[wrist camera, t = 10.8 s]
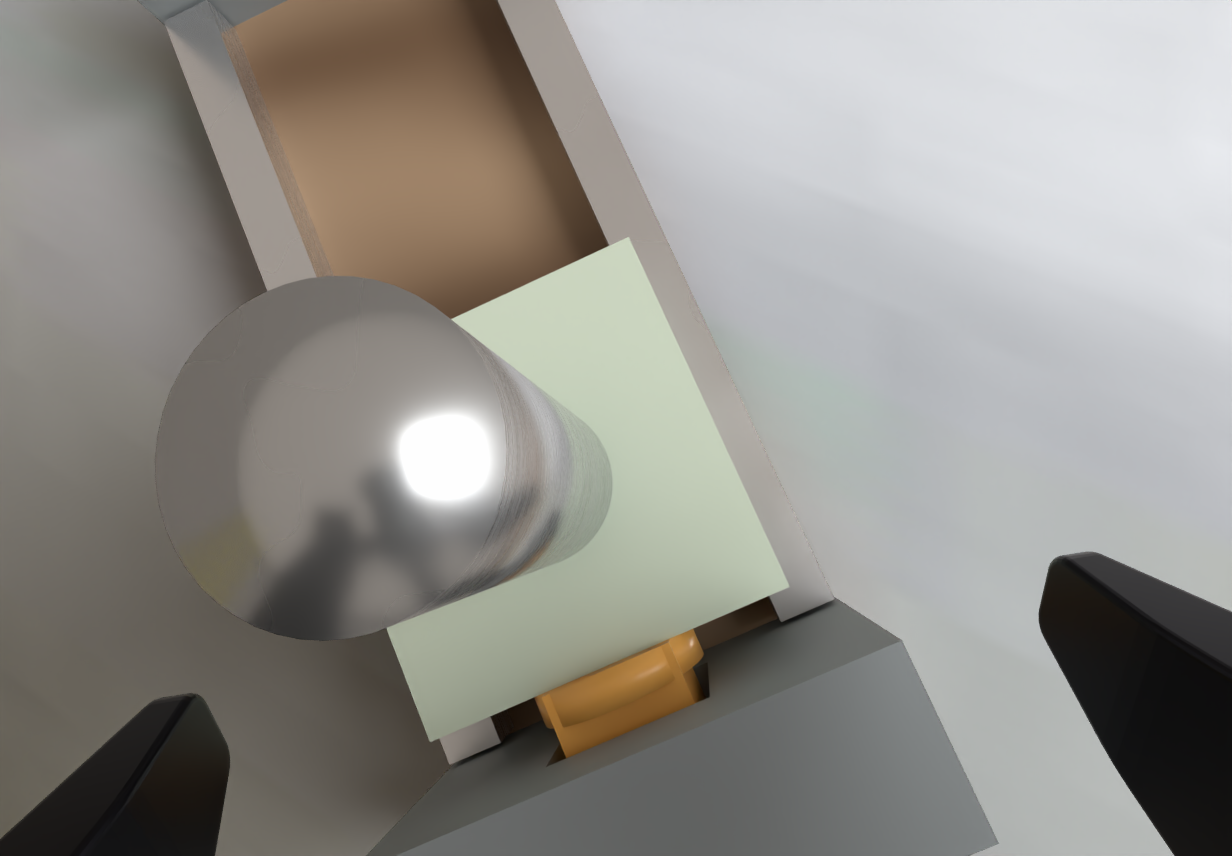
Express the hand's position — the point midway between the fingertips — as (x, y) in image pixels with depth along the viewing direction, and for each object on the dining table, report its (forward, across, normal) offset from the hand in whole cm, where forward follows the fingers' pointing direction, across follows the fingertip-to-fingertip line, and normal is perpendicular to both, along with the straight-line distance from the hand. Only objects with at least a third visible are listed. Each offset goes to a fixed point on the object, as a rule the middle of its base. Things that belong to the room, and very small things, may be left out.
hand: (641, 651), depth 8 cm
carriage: (+8, +1, +3) cm, 9 cm away
